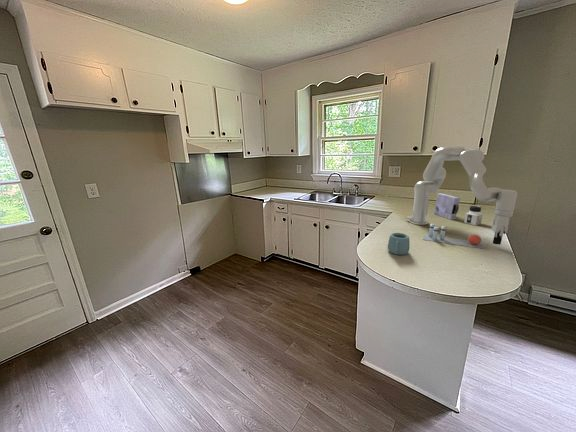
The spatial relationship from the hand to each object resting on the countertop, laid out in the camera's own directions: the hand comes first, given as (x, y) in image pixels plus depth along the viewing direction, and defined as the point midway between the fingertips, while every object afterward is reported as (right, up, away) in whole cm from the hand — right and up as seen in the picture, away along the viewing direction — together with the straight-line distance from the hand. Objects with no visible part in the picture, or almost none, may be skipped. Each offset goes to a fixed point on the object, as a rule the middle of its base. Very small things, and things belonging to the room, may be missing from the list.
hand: (496, 243), depth 137 cm
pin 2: (-28, +1, +13) cm, 30 cm away
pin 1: (-27, +2, +18) cm, 32 cm away
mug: (-58, -5, -3) cm, 58 cm away
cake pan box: (+9, +15, +60) cm, 62 cm away
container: (+19, +10, +42) cm, 48 cm away
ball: (-9, +2, +5) cm, 10 cm away
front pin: (-23, +1, +13) cm, 26 cm away
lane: (-18, 0, +11) cm, 21 cm away
